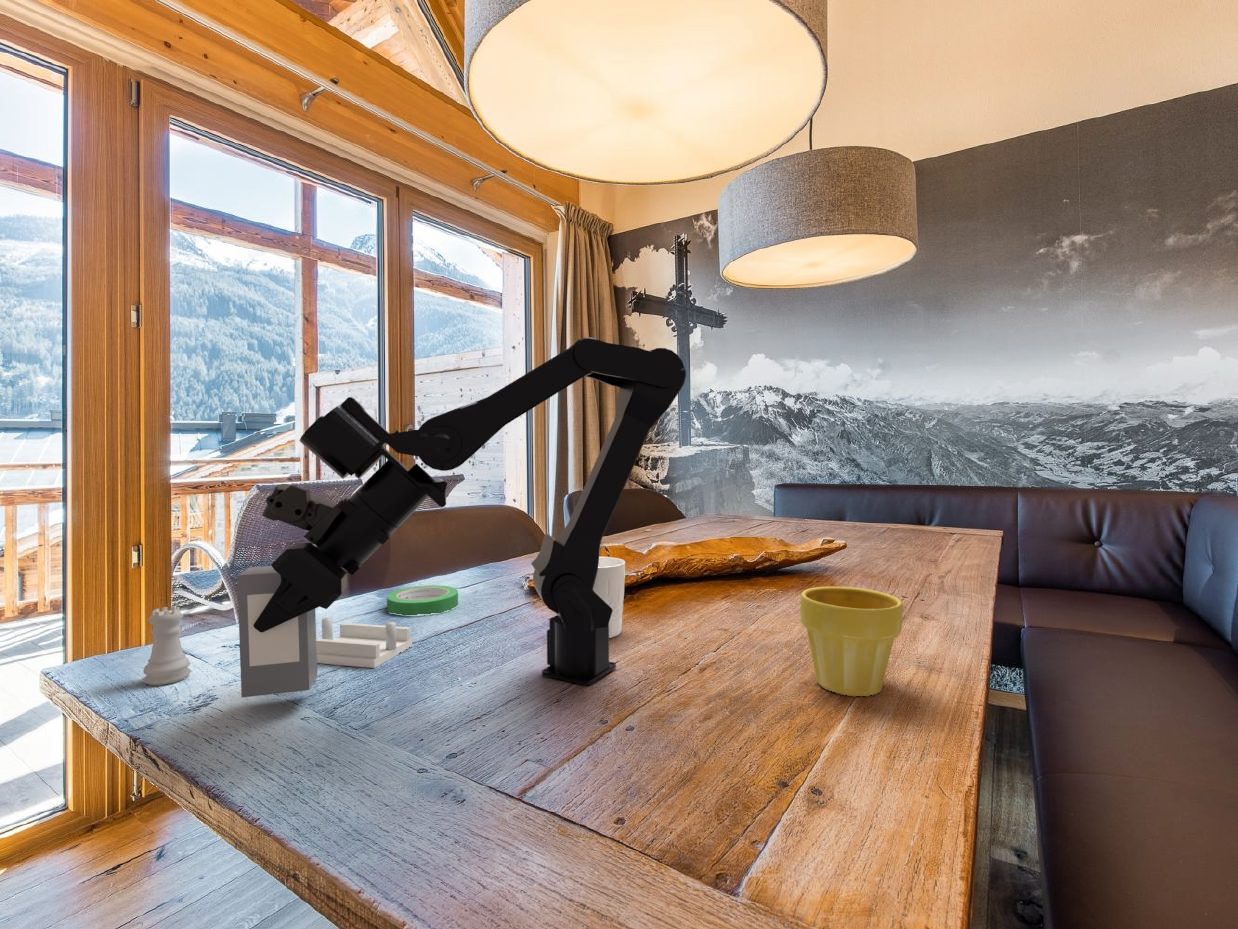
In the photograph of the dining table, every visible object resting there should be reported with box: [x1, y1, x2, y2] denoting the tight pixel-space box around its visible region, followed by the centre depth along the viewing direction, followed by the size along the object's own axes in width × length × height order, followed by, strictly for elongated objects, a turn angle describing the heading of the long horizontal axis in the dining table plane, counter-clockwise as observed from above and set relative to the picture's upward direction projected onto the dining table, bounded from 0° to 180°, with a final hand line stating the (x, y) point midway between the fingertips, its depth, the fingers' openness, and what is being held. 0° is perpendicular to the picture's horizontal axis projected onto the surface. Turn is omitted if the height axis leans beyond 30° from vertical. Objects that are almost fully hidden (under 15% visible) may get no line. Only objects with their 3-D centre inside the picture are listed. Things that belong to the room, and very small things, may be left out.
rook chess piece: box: [142, 605, 192, 687], centre depth 69 cm, size 4×4×8 cm
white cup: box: [593, 556, 626, 639], centre depth 86 cm, size 8×8×10 cm
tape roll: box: [386, 584, 459, 615], centre depth 100 cm, size 11×11×3 cm
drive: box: [236, 565, 318, 699], centre depth 62 cm, size 6×4×12 cm, turn 106°
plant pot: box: [800, 586, 904, 698], centre depth 67 cm, size 10×10×10 cm
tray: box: [316, 616, 413, 669], centre depth 77 cm, size 10×8×4 cm
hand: (263, 623), depth 62 cm, fingers closed on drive, 4 cm apart
